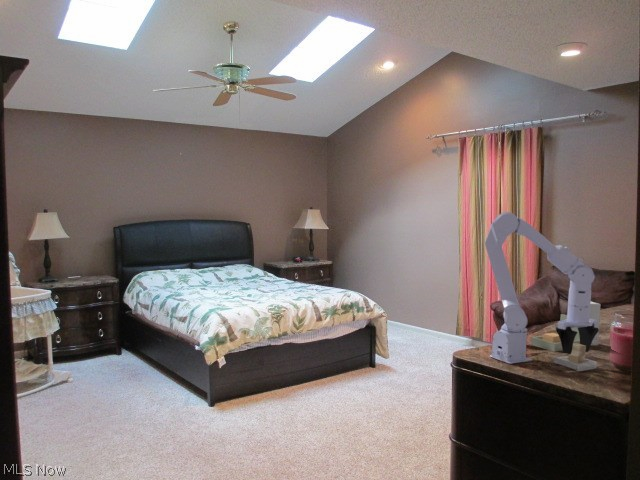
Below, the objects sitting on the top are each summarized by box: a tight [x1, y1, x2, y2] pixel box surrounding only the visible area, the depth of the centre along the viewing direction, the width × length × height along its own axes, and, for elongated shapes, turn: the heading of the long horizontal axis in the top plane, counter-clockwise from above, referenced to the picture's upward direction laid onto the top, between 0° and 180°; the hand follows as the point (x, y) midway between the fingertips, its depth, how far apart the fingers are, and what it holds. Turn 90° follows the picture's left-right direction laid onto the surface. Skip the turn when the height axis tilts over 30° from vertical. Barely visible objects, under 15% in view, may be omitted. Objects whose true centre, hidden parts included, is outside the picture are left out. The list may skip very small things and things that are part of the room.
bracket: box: [553, 355, 598, 372], centre depth 143 cm, size 8×8×5 cm
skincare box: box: [589, 300, 601, 346], centre depth 170 cm, size 8×6×15 cm
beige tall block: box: [568, 343, 586, 363], centre depth 143 cm, size 3×3×6 cm
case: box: [530, 313, 580, 353], centre depth 165 cm, size 15×9×10 cm, turn 117°
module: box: [542, 332, 561, 343], centre depth 164 cm, size 5×4×4 cm
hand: (575, 352), depth 143 cm, fingers open, 7 cm apart
